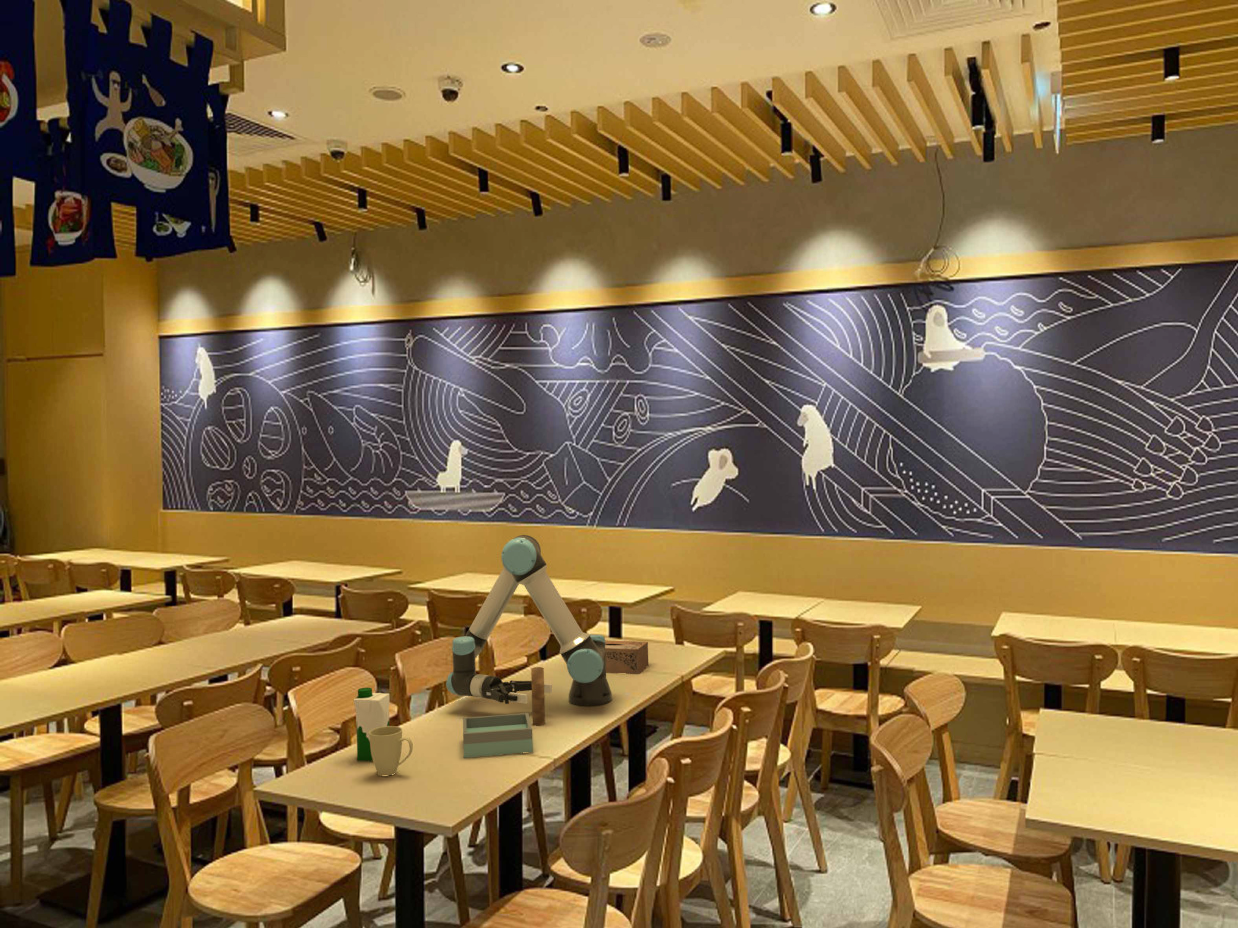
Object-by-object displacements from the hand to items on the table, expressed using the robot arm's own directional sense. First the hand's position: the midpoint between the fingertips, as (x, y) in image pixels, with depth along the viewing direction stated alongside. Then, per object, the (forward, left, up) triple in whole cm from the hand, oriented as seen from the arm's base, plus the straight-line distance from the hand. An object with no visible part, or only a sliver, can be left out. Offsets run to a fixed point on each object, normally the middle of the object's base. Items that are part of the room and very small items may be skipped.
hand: (539, 693), depth 309 cm
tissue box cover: (-35, -70, -10) cm, 78 cm away
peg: (0, -1, -10) cm, 10 cm away
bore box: (+14, +19, -10) cm, 26 cm away
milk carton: (+50, +20, -10) cm, 55 cm away
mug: (+44, +36, -10) cm, 58 cm away
